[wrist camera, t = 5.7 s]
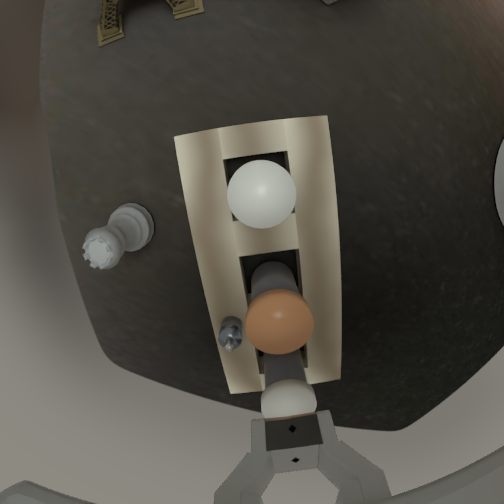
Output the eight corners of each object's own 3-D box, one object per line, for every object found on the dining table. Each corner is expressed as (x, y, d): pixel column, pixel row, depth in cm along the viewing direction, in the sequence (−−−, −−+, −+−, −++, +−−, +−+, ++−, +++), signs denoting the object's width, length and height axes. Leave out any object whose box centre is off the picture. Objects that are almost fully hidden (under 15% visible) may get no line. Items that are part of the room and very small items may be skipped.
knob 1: (280, 154, 25) (291, 156, 18) (287, 203, 27) (299, 223, 20) (229, 161, 25) (221, 166, 19) (237, 210, 27) (232, 232, 20)
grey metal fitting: (242, 315, 27) (240, 338, 24) (243, 333, 28) (241, 357, 24) (220, 315, 27) (215, 338, 24) (222, 334, 28) (217, 357, 25)
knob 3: (303, 333, 28) (316, 385, 21) (305, 367, 29) (316, 420, 22) (256, 339, 28) (257, 393, 21) (262, 373, 29) (264, 427, 23)
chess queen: (159, 245, 28) (129, 280, 21) (118, 249, 28) (80, 282, 21) (151, 199, 27) (116, 219, 19) (109, 205, 27) (66, 226, 19)
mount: (318, 118, 24) (326, 115, 22) (334, 361, 33) (340, 378, 30) (182, 137, 25) (173, 136, 22) (231, 375, 33) (230, 393, 31)
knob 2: (296, 252, 25) (312, 292, 18) (300, 299, 27) (315, 349, 20) (242, 260, 25) (240, 302, 18) (250, 306, 27) (250, 358, 20)
